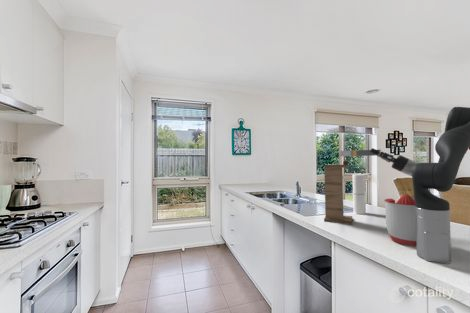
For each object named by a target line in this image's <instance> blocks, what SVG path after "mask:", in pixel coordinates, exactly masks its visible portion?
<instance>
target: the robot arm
mask: <svg viewBox="0 0 470 313" xmlns="http://www.w3.org/2000/svg"><path fill="white" fill-rule="evenodd" d="M469 149H470V107H464V106H454V107H452V108H451V109H450V111H449V113H448V115H447V118H446V122H445V128H444V132H443V133H442V134H441V135H440V137H439V138H438V139H437V141H436V143H435V146H434V150H435V152H436V154H437V155H438V156H439V158H438V161H437V162H417V161H415V160H412V159H410V158H408V157H405V156H403V155H400V154H399V155H398V156H396V158H395V156H394V155H393V154H389V153H388V152H384V151H382V150H381V151H378V150H379V149H375V148H373V147H372V148H371V149H370V150H371V151H370V152H372V153H374V154H376V155H375V156H377V158H378V157H379V158H380V159H381V160H383V161H385V162H387V163H392V165H391V168H392V169H394V170H396V171H398V172H400V173H402V174H405V175H407V176H410V177H411V178H412V180H411V181H412V188H413V189H412V190H413V199H414V200H415V217H416V246H415V247H416V255H417V256H418V257H419V258H421V259H424V260H425V261H427V262H429V261H430V262H434V263H442V264H448V265H449V264H450V263H451V262H452V242H451V240H452V238H451V206H450V202H449V201H448V200H446V199H444V198H441V197H439V196H436V194H433V193H432V192H431V191H430V189H431V190H435V191H438V192H441V193H446V192H448V191H450V190H451V189H452V187H453V186H454V183H455V181H456V180H457V175H458V172H459V169H460V166H461V163H462V161H463V159H464V157H465V155H466V154H467V151H468V150H469ZM377 154H378V155H377Z"/></svg>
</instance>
